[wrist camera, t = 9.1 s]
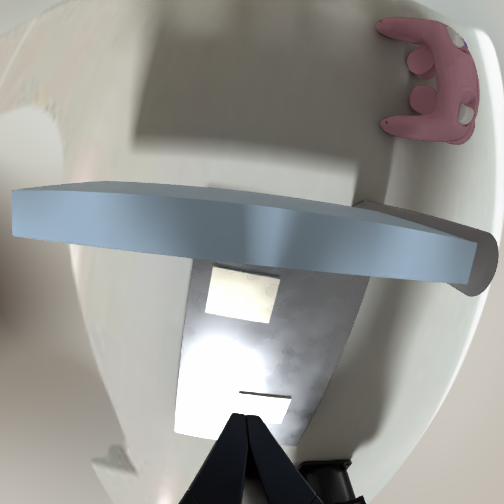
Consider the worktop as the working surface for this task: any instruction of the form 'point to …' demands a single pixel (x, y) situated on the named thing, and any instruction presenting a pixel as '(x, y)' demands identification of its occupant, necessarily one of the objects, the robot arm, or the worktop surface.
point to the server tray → (261, 345)
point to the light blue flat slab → (259, 230)
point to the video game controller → (448, 82)
